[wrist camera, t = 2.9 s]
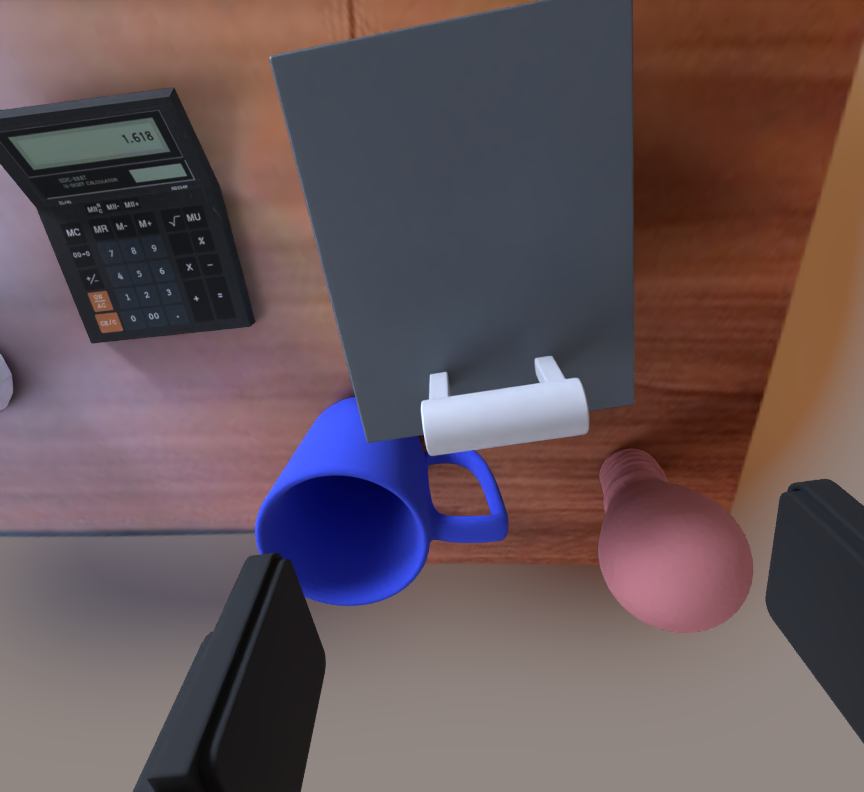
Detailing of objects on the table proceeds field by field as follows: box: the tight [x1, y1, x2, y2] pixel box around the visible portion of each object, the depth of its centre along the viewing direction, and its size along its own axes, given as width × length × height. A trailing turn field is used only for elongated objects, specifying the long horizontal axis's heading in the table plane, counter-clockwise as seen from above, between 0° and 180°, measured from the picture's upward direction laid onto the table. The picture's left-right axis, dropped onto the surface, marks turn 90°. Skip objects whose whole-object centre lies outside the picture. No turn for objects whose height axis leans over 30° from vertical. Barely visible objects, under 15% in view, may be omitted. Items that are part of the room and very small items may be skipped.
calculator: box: [0, 88, 255, 343], centre depth 27 cm, size 9×12×3 cm
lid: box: [270, 0, 634, 456], centre depth 16 cm, size 14×11×5 cm
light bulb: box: [598, 448, 753, 633], centre depth 29 cm, size 7×7×12 cm
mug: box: [255, 397, 508, 606], centre depth 29 cm, size 8×12×10 cm
